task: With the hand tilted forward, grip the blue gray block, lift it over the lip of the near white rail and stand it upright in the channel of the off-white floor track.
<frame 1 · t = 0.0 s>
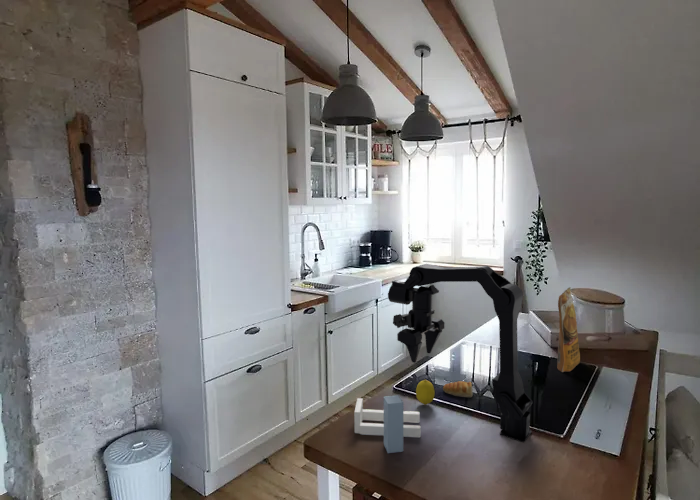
hand: (421, 357, 134), 15 cm above the kitchen island, tool pointing down, fingers open, 9 cm apart
pastry: (460, 394, 143), on the kitchen island
pancake mix bag: (566, 365, 164), on the kitchen island
track: (390, 427, 123), on the kitchen island
lemon: (425, 405, 136), on the kitchen island
blue gray block: (393, 447, 113), on the kitchen island
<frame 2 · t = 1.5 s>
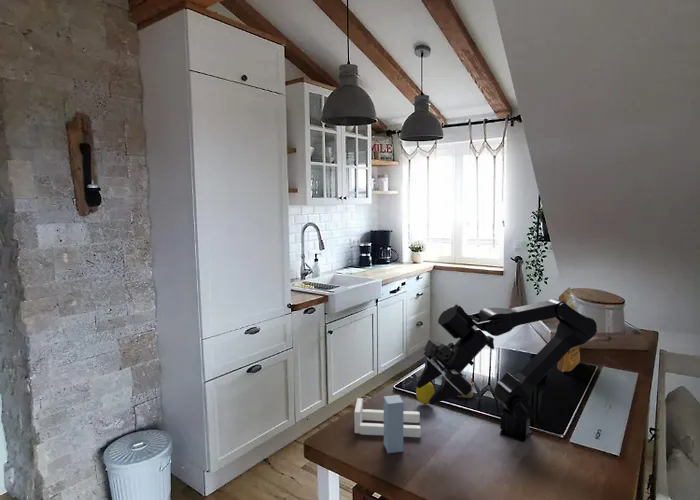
hand: (423, 394, 113), 13 cm above the kitchen island, tool tilted 45°, fingers open, 9 cm apart
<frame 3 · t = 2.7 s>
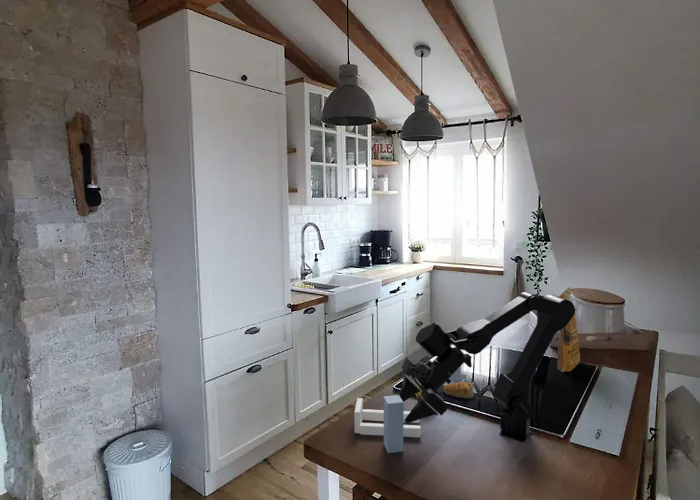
hand: (400, 412, 112), 9 cm above the kitchen island, tool tilted 45°, fingers open, 9 cm apart
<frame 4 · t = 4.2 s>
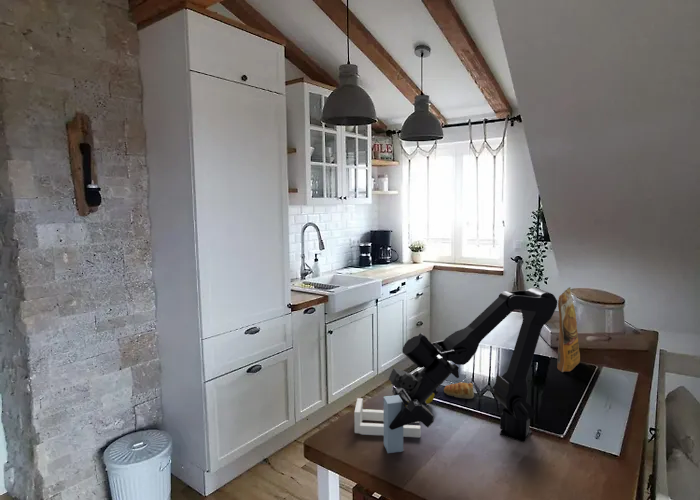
hand: (388, 423, 112), 7 cm above the kitchen island, tool tilted 45°, fingers closed on blue gray block, 4 cm apart
blue gray block: (393, 447, 113), on the kitchen island, touching gripper
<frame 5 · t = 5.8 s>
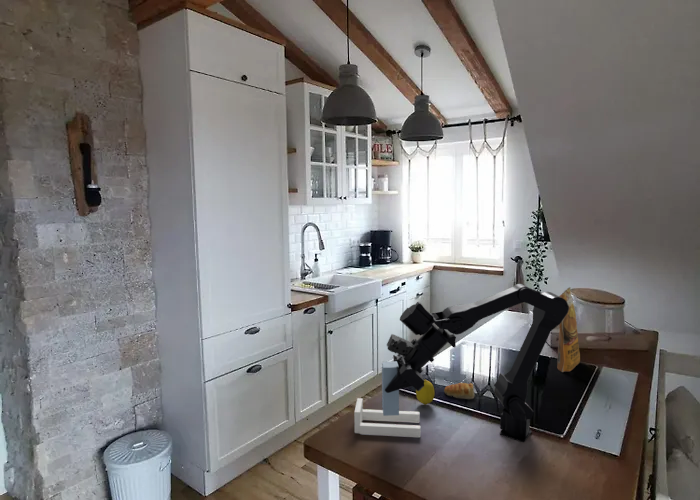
hand: (385, 387, 117), 13 cm above the kitchen island, tool tilted 45°, fingers closed on blue gray block, 4 cm apart
blue gray block: (390, 411, 118), point 7 cm above the kitchen island, touching gripper
when the fingers open (8 cm above the kitchen island, at t = 7.5 s): blue gray block drops 1 cm, resting in track.
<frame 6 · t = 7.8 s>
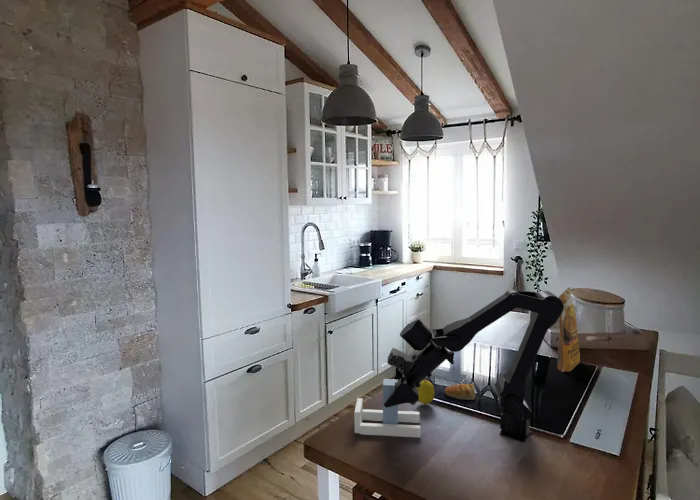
hand: (385, 399, 122), 8 cm above the kitchen island, tool tilted 45°, fingers open, 8 cm apart
blue gray block: (390, 427, 123), resting in track
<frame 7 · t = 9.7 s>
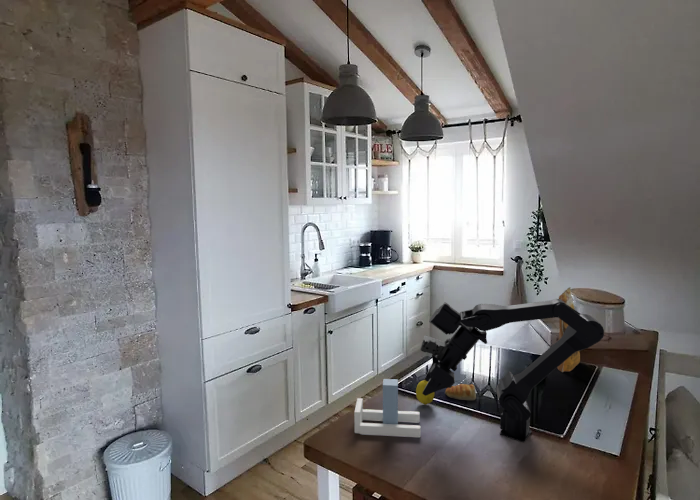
hand: (424, 387, 123), 11 cm above the kitchen island, tool tilted 35°, fingers open, 9 cm apart
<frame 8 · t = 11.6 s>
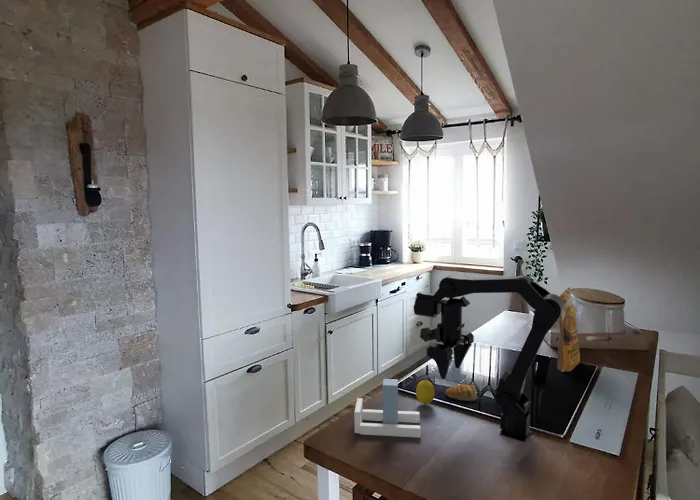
hand: (450, 373, 127), 13 cm above the kitchen island, tool pointing down, fingers open, 9 cm apart
at the end: blue gray block inside the target area on the track (0.0 cm from its centre), point 0.0 cm above the track's base; blue gray block tilted 0°; the gripper is holding nothing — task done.
